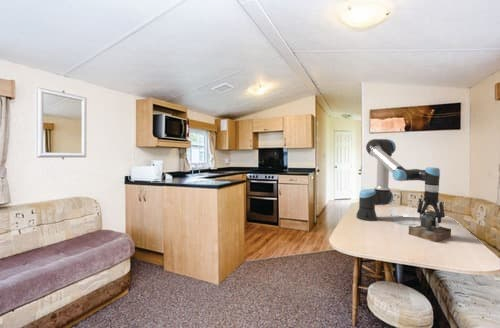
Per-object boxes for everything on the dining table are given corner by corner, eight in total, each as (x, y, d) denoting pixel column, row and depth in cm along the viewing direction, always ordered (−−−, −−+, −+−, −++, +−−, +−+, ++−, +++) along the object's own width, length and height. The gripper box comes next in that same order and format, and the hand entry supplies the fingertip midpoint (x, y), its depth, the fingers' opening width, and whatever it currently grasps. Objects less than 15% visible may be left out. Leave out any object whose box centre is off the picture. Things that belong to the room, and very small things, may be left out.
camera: (439, 230, 154) (439, 214, 153) (419, 226, 160) (420, 211, 159) (439, 225, 164) (440, 210, 164) (421, 222, 170) (422, 207, 170)
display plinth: (408, 234, 165) (408, 225, 165) (423, 230, 174) (424, 222, 173) (435, 242, 151) (435, 233, 151) (450, 237, 159) (451, 229, 159)
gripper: (411, 189, 168) (410, 222, 169) (447, 194, 150) (445, 231, 151) (418, 188, 171) (416, 220, 173) (453, 193, 153) (451, 229, 154)
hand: (429, 225), depth 162 cm, fingers closed on camera, 8 cm apart
